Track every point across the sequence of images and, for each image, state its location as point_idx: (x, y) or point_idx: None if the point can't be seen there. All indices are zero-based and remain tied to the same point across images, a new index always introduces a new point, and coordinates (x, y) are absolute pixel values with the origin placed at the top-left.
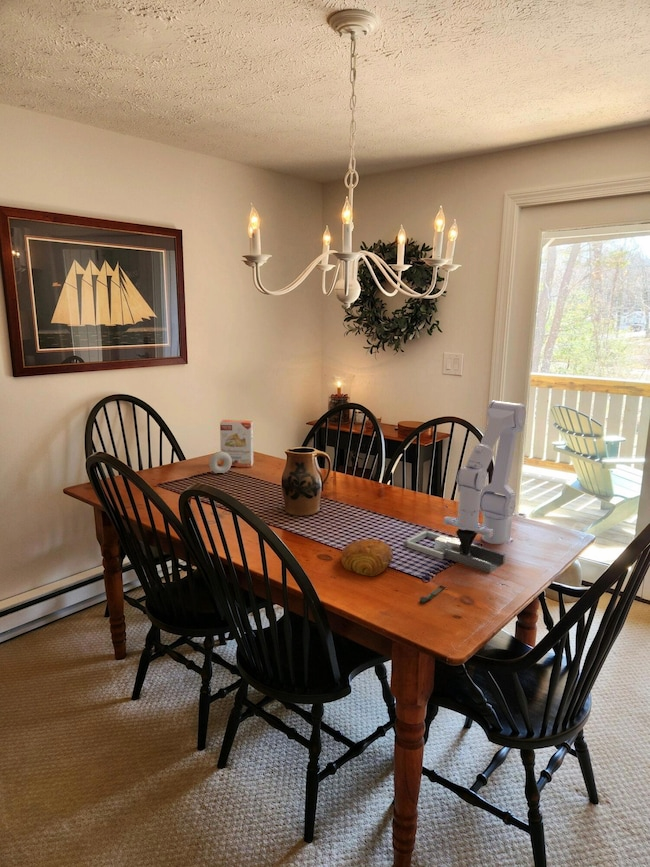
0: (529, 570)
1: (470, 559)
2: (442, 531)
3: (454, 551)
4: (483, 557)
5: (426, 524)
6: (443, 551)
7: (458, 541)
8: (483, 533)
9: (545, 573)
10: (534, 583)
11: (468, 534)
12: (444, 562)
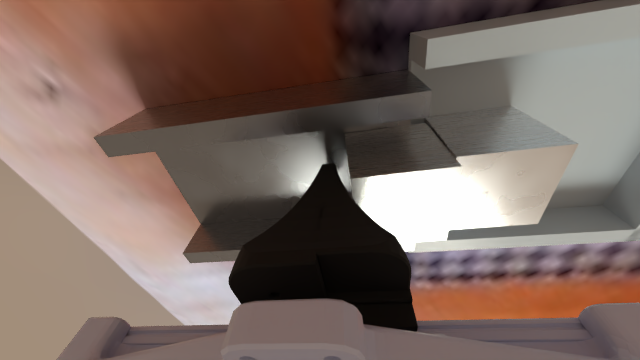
0: (155, 247)
1: (224, 115)
2: (540, 281)
3: (355, 115)
4: (280, 216)
5: (625, 288)
6: (451, 122)
7: (390, 214)
8: (153, 341)
9: (124, 259)
10: (53, 192)
11: (244, 273)
12: (394, 48)
